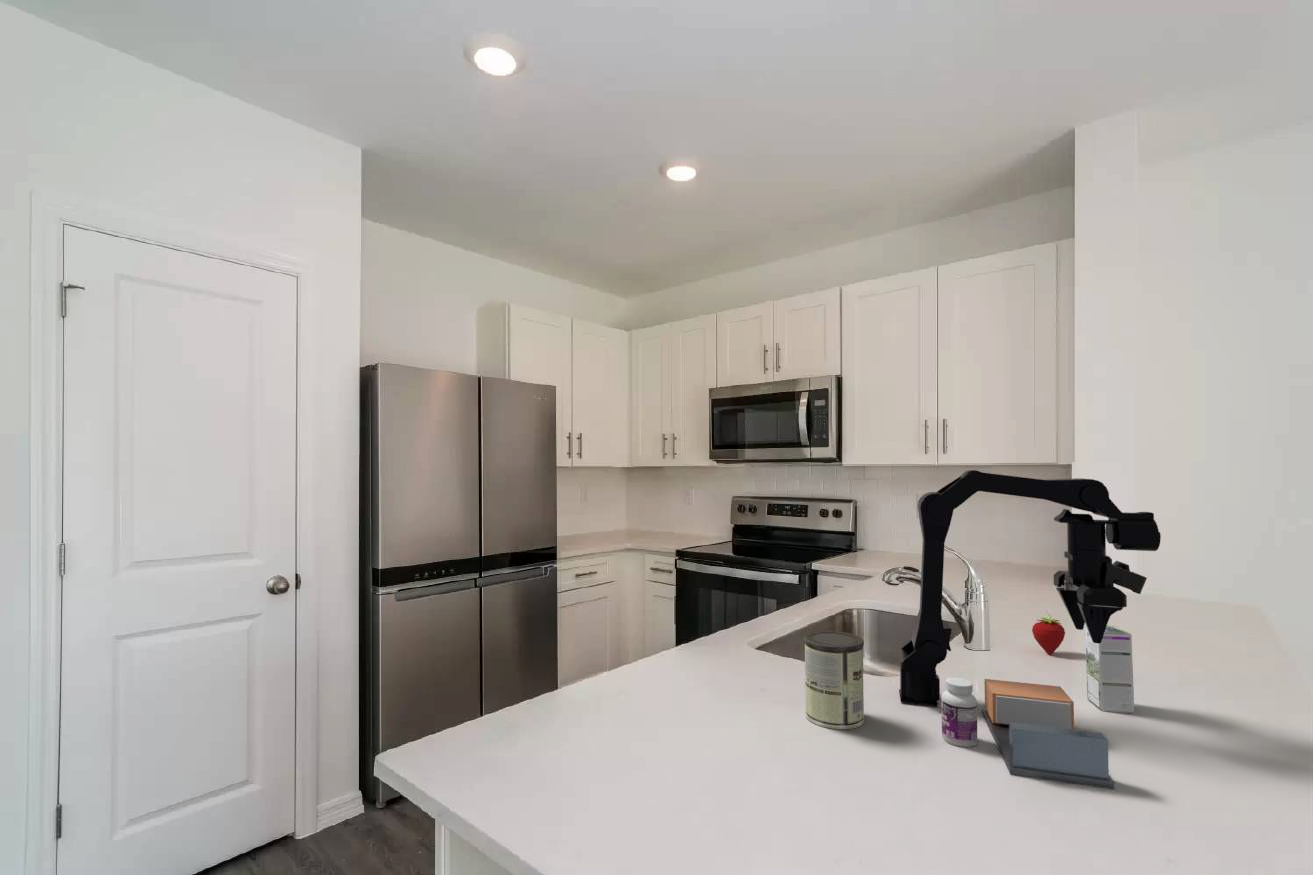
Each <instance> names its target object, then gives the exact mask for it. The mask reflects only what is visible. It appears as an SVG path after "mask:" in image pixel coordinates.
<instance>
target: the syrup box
mask: <svg viewBox="0 0 1313 875" xmlns="http://www.w3.org/2000/svg"><path fill="white" fill-rule="evenodd" d="M1084 627H1085V652H1086V653H1085V659H1086V690H1087V691H1086V693H1087V694H1086V695H1087V698H1086V699H1087V701H1089V702H1090V703H1092V705H1094V706H1095V707H1096V708H1097V709H1099V710H1100V711H1102V712H1112V713H1113V712H1114V713H1124V714H1135V697H1134V696H1135V694H1134V693H1135V692H1134V691H1135V690H1134V688H1135V687H1134V668H1133V667H1134V664H1133V661H1134V660H1133V642H1132V641H1133V639H1132V638H1133V637H1132V634H1131V633H1129V632H1128V631H1126V630H1124V629H1121V628H1120V627H1118V626H1114V625H1108V624H1107V626H1106V629H1105V632H1104V635H1103V638H1102V641H1101V643H1094V642H1093V641H1092V639H1091V636H1090V634H1089V631H1088V629H1087V626H1086V625H1084Z"/></svg>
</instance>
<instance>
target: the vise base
mask: <svg viewBox="0 0 1313 875" xmlns="http://www.w3.org/2000/svg"><path fill="white" fill-rule="evenodd" d="M980 708H981V709H980V710H981V711H980V712H981V715H982V717H983V719H984V721H985V723H986V726H987V728H988V731H989V732H990V734H991V736H992V739H993V740H994V743H995V744H996V747H997V749H998V752H999V753H1000V756H1001V757H1002V759H1003V760H1002V761H1004V763H1005V767H1006V769H1007V770H1008V772H1009V775H1012V776H1018V777H1025V778H1033V779H1040V780H1045V781H1046V780H1048V781H1052V782H1053V781H1054V782H1061V783H1067V784H1076V785H1083V786H1089V787H1095V788H1103V789H1109V790H1110V789H1111V790H1115V781H1114V780H1113V778H1112V777H1111V776H1110V774H1109V739H1108V738H1107V737H1106V736H1105V735H1104V734H1103V733H1102V732H1099V731H1098V732H1097V731H1090V730H1089V731H1088V730H1081V729H1074V730H1073V729H1064V728H1056V727H1047V726H1039V725H1030V724H1022V723H1013V722H1009V725H1005V724H997V723H993V722H992V720H991V718H990V716H989V714H988V712H987V710H986V708H985V706H983V707H982V706H981V707H980Z"/></svg>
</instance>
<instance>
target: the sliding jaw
mask: <svg viewBox="0 0 1313 875" xmlns="http://www.w3.org/2000/svg"><path fill="white" fill-rule="evenodd" d="M1074 706H1075V703H1074V701H1073V699H1072V697H1070V696H1069V695H1068V694H1067V693H1066V691H1065V690H1064V689H1063V688H1062V687H1061V686H1058V685H1050V684H1049V685H1048V684H1038V683H1030V682H1029V683H1028V682H1022V681H1021V682H1019V681H1009V680H999V679H989V678H984V707H985V708H986V710H987V712H988V714H989V716H990V718H991V720H992V722H993V723H997V724H1005V725H1009V722H1013V723H1022V724H1030V725H1039V726H1047V727H1056V728H1064V729H1073V730H1075V707H1074Z"/></svg>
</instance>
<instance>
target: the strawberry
mask: <svg viewBox="0 0 1313 875" xmlns="http://www.w3.org/2000/svg"><path fill="white" fill-rule="evenodd" d="M1046 613H1047V614H1048V615H1050V614H1049V612H1048V611H1047V610H1046ZM1049 617H1050V618H1047V617H1042V616H1041V617H1040V618H1041V619H1036V620H1035V621H1036V623H1034V624H1033V625H1032V630H1031V632H1032V635H1033V638H1034V640H1035V641H1036V642H1037V644H1038V645H1039V646H1040V647H1041V649H1043V650H1044V652H1045V654H1047V655H1049V656H1050V655H1052V654H1054V652H1055V651H1056V650H1057V649H1058V648H1059V647H1060V646H1061V644H1062V642H1063V641H1064V639H1065V635H1066V631H1065V628H1064V627H1063V626H1062V623H1061V622H1060V621H1061V620H1060V619H1054V618H1053V619H1051V618H1052V616H1049Z"/></svg>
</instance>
